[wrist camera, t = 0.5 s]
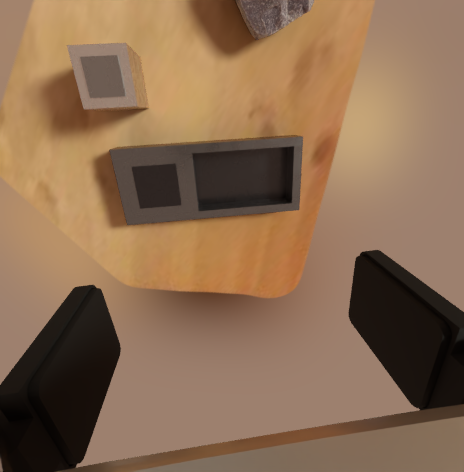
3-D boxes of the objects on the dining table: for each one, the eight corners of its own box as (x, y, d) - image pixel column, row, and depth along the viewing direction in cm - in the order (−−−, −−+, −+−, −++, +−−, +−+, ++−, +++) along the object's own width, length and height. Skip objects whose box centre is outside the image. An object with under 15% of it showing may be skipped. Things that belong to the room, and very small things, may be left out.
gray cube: (92, 59, 28) (66, 44, 23) (140, 57, 29) (125, 42, 23) (104, 110, 30) (82, 109, 25) (149, 108, 31) (137, 106, 25)
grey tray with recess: (117, 147, 32) (109, 149, 29) (294, 135, 34) (303, 136, 31) (132, 216, 36) (127, 225, 33) (292, 203, 37) (299, 210, 34)
